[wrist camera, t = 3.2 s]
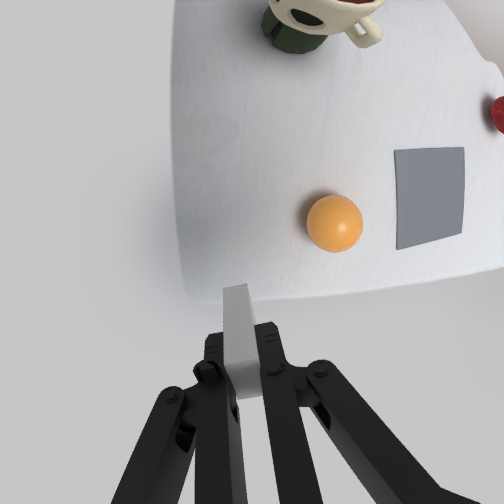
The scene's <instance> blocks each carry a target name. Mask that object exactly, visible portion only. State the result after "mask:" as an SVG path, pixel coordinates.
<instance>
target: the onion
mask: <svg viewBox="0 0 504 504" xmlns="http://www.w3.org/2000/svg"><path fill="white" fill-rule="evenodd" d="M491 117H492V120H493V122H494V124H495V126H496V127H497V129H498V130H499V131H500V132H501V133H503V134H504V96H503V97H499V98H498V99H496V100H495V101H494V103H493V105H492V107H491Z"/></svg>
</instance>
